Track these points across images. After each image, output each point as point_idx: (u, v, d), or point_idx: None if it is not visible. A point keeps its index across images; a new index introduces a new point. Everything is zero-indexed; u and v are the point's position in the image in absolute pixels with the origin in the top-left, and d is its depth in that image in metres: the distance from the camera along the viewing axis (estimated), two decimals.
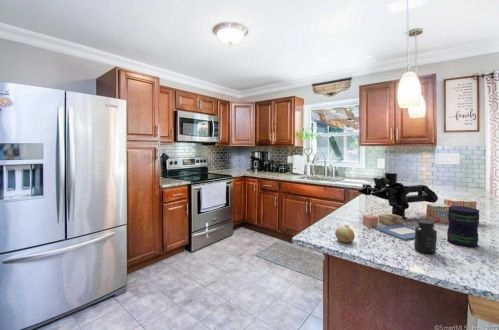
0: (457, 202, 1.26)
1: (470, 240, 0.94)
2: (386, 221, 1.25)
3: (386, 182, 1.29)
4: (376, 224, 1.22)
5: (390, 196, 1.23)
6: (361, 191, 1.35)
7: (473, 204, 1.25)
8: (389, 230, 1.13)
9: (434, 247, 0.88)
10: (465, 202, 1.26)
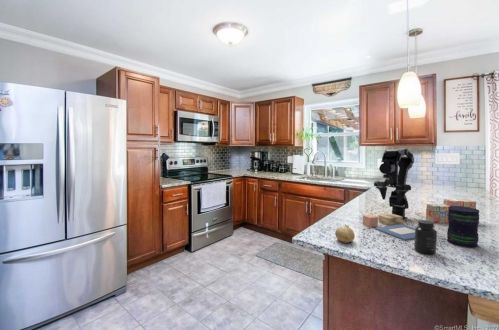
0: (457, 202, 1.26)
1: (470, 240, 0.94)
2: (385, 221, 1.25)
3: (390, 182, 1.22)
4: (376, 224, 1.22)
5: (409, 188, 1.19)
6: (384, 195, 1.32)
7: (472, 204, 1.26)
8: (389, 230, 1.13)
9: (434, 247, 0.88)
10: (465, 202, 1.26)
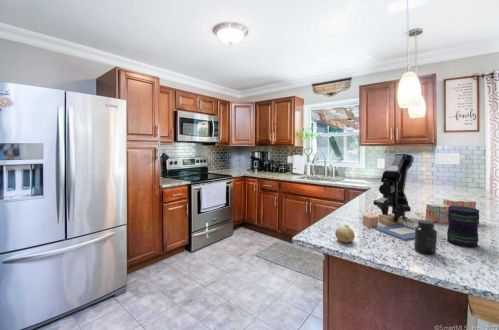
0: (456, 202, 1.26)
1: (470, 240, 0.94)
2: (385, 221, 1.25)
3: (389, 203, 1.22)
4: (376, 224, 1.22)
5: (408, 210, 1.20)
6: None
7: (472, 204, 1.25)
8: (389, 230, 1.13)
9: (434, 247, 0.88)
10: (464, 202, 1.26)
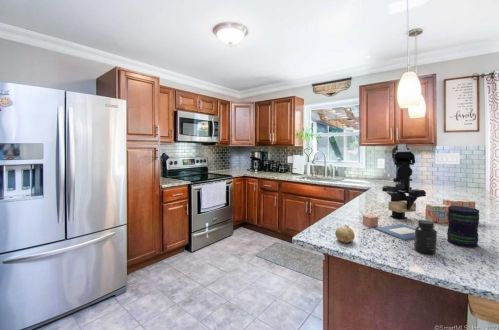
0: (456, 202, 1.26)
1: (470, 240, 0.94)
2: (397, 207, 1.10)
3: (401, 187, 1.07)
4: (376, 224, 1.22)
5: (423, 194, 1.05)
6: None
7: (472, 204, 1.25)
8: (389, 230, 1.13)
9: (434, 247, 0.88)
10: (464, 202, 1.26)
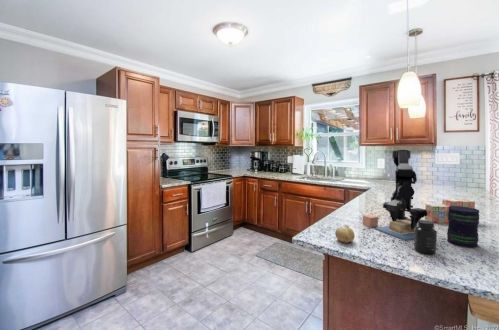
0: (455, 202, 1.26)
1: (470, 240, 0.94)
2: (398, 228, 1.09)
3: (403, 206, 1.06)
4: (376, 224, 1.22)
5: (425, 214, 1.04)
6: (395, 219, 1.17)
7: (471, 204, 1.25)
8: (389, 230, 1.13)
9: (434, 247, 0.88)
10: (463, 202, 1.26)
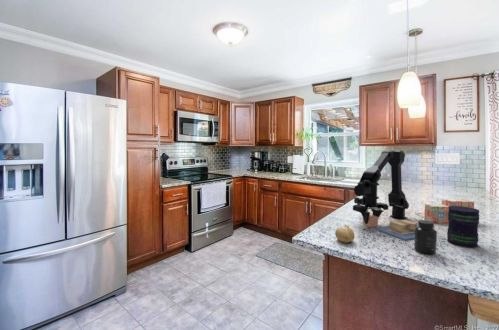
0: (455, 202, 1.26)
1: (470, 240, 0.94)
2: (398, 228, 1.09)
3: (356, 201, 1.28)
4: (376, 224, 1.22)
5: (357, 210, 1.20)
6: None
7: (470, 204, 1.25)
8: (389, 230, 1.13)
9: (434, 247, 0.88)
10: (463, 202, 1.26)
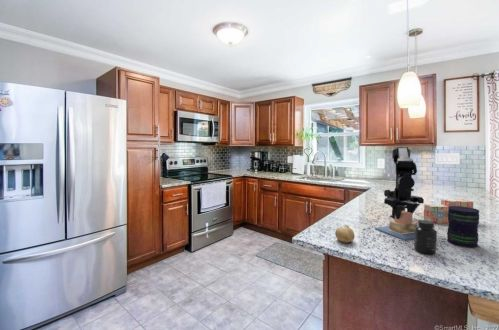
0: (454, 202, 1.26)
1: (470, 240, 0.94)
2: (398, 228, 1.09)
3: (386, 194, 1.16)
4: (410, 221, 1.11)
5: (390, 203, 1.08)
6: None
7: (470, 204, 1.25)
8: (389, 230, 1.13)
9: (434, 247, 0.88)
10: (462, 202, 1.25)
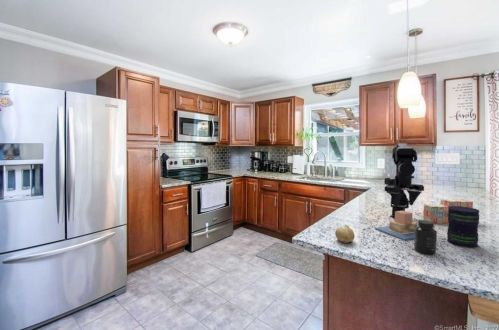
0: (454, 202, 1.26)
1: (470, 240, 0.94)
2: (398, 228, 1.09)
3: (387, 182, 1.16)
4: (410, 221, 1.11)
5: (391, 190, 1.08)
6: (411, 201, 1.13)
7: (469, 204, 1.25)
8: (389, 230, 1.13)
9: (434, 247, 0.88)
10: (462, 202, 1.25)
